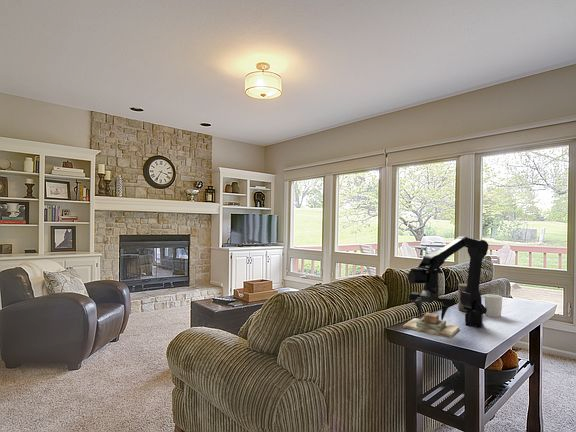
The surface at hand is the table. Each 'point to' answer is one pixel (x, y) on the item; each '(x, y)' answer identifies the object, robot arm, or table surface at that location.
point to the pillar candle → (461, 288)
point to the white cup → (493, 305)
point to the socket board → (432, 327)
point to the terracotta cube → (431, 318)
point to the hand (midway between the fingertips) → (431, 317)
